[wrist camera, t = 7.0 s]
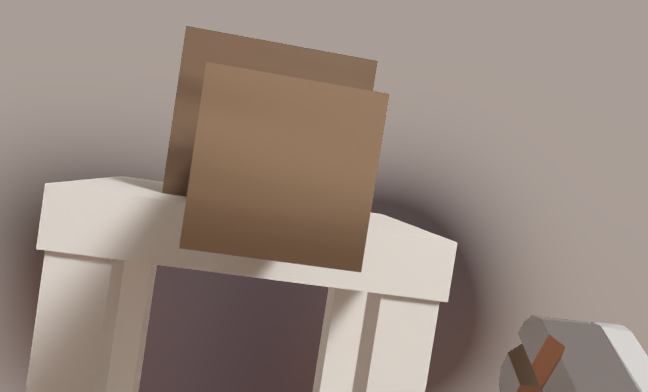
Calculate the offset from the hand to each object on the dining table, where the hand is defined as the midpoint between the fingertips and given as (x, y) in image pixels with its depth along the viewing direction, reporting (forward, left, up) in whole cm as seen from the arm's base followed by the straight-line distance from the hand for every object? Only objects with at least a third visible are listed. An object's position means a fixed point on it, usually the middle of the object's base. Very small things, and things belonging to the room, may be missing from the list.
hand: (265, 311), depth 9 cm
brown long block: (+7, -7, +1) cm, 10 cm away
